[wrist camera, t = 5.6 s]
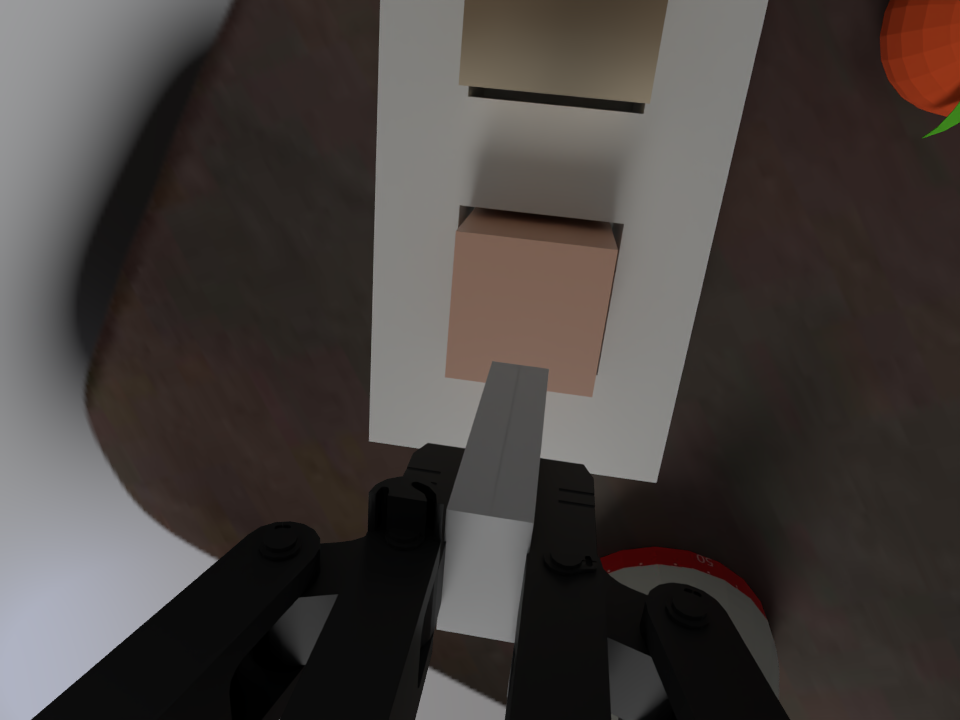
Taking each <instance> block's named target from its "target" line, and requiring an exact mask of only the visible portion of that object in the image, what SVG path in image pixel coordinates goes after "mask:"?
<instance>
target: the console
mask: <svg viewBox="0 0 960 720" xmlns="http://www.w3.org/2000/svg"><path fill="white" fill-rule="evenodd" d="M464 1H465V0H380V33H379V72H378V111H377V150H376V189H375V228H374V267H373V306H372V345H371V384H370V423H369V441H372V442H379V443H385V444H392V445H399V446H406V447H413V448H421V447H423V446H424V445H425V444H427V443H433V444H439V445H446V446H453V447H459V448H466V445H467V441H468V438H469V435H470V432H471V428H472V425H473V422H474V419H475V415H476V412H477V409H478V406H479V403H480V399H481V396H482V393H483V390H484V386H485V383H483V382H476V381H469V380H461V379H454V378H447V377H445V369H446V355H447V342H448V328H449V315H450V302H451V288H452V275H453V262H454V248H455V235H456V230H457V229H458V228H459V227H460V225H461V224H462V223H463V222H464V221H465V219H466V218H467V217H468V216H469V215H470V213H471V212H472V211H473V210H474V209H475V207H480V208H489V209H498V210H507V211H515V212H524V213H533V214H542V215H551V216H560V217H568V218H577V219H586V220H595V221H604V222H610V225H611V229H612V232H613V235H614V239H615V242H616V245H617V248H618V253H617V259H616V264H615V270H614V276H613V282H612V287H611V293H610V299H609V304H608V310H607V316H606V322H605V327H604V333H603V339H602V344H601V350H600V356H599V361H598V367H597V373H596V379H595V384H594V390H593V396H592V397H586V396H579V395H572V394H564V393H557V392H550V391H547V394H546V404H545V414H544V425H543V435H542V445H541V455H540V458H544V459H551V460H557V461H564V462H571V463H578V464H584V466H585V467H586V469H587V470H588V471H589V473H591V474H598V475H605V476H612V477H619V478H626V479H633V480H639V481H646V482H653V483H657V478H658V474H659V470H660V465H661V461H662V457H663V452H664V448H665V444H666V439H667V435H668V431H669V426H670V422H671V418H672V414H673V409H674V405H675V401H676V396H677V392H678V388H679V383H680V379H681V375H682V370H683V366H684V362H685V358H686V353H687V349H688V345H689V340H690V336H691V332H692V327H693V323H694V319H695V314H696V310H697V306H698V302H699V297H700V293H701V289H702V284H703V280H704V276H705V271H706V267H707V263H708V258H709V254H710V250H711V245H712V241H713V237H714V233H715V228H716V224H717V220H718V215H719V211H720V207H721V202H722V198H723V194H724V189H725V185H726V181H727V177H728V172H729V168H730V164H731V159H732V155H733V151H734V146H735V142H736V138H737V133H738V129H739V125H740V121H741V116H742V112H743V108H744V103H745V99H746V95H747V90H748V86H749V82H750V77H751V73H752V69H753V64H754V60H755V56H756V52H757V47H758V43H759V39H760V34H761V30H762V26H763V21H764V17H765V13H766V8H767V4H768V0H668V5H667V10H666V16H665V21H664V27H663V33H662V38H661V44H660V49H659V55H658V61H657V66H656V72H655V77H654V83H653V88H652V94H651V100H650V104H647V103H637V102H627V101H617V100H606V99H596V98H586V97H576V96H565V95H555V94H545V93H535V92H524V91H514V90H504V89H494V88H483V87H473V86H463V85H459V72H460V58H461V44H462V30H463V15H464Z"/></svg>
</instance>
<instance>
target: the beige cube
mask: <svg viewBox="0 0 960 720" xmlns="http://www.w3.org/2000/svg"><path fill="white" fill-rule="evenodd" d="M667 5H668V0H465V1H464V15H463V30H462V44H461V58H460V72H459V85H463V86H473V87H483V88H494V89H504V90H514V91H524V92H535V93H545V94H555V95H565V96H576V97H586V98H596V99H606V100H617V101H627V102H637V103H647V104H650V100H651V94H652V88H653V83H654V77H655V72H656V66H657V61H658V55H659V49H660V44H661V38H662V33H663V27H664V21H665V16H666V10H667Z"/></svg>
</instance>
